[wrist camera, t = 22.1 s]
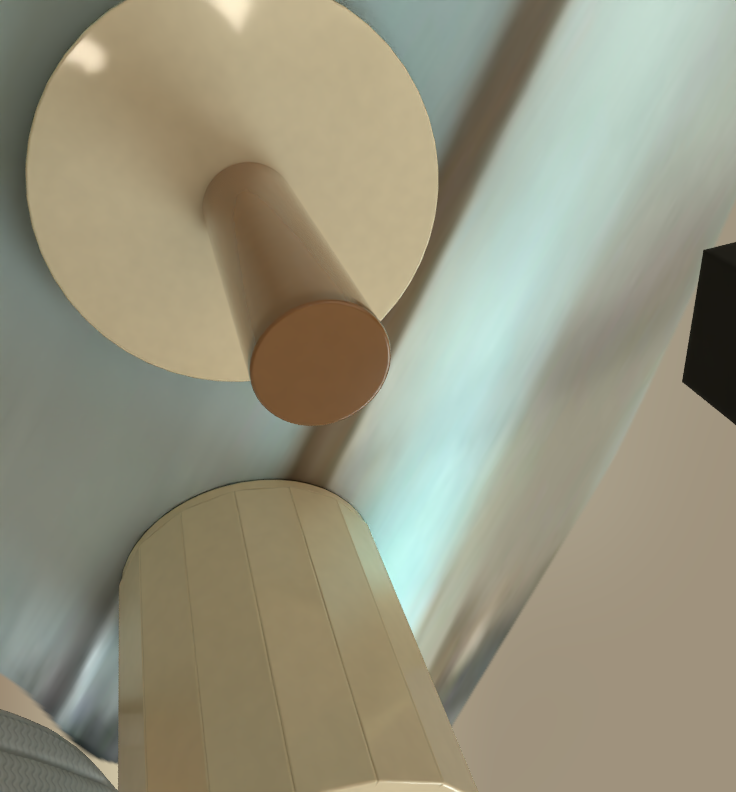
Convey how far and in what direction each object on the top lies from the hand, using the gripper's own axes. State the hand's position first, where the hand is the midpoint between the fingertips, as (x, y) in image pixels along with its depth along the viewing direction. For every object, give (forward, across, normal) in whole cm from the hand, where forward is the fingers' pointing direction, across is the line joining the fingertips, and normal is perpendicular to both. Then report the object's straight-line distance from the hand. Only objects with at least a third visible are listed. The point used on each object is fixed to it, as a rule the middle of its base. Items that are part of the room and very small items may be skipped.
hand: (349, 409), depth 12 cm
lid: (+11, 0, 0) cm, 11 cm away
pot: (+12, -3, -15) cm, 20 cm away
